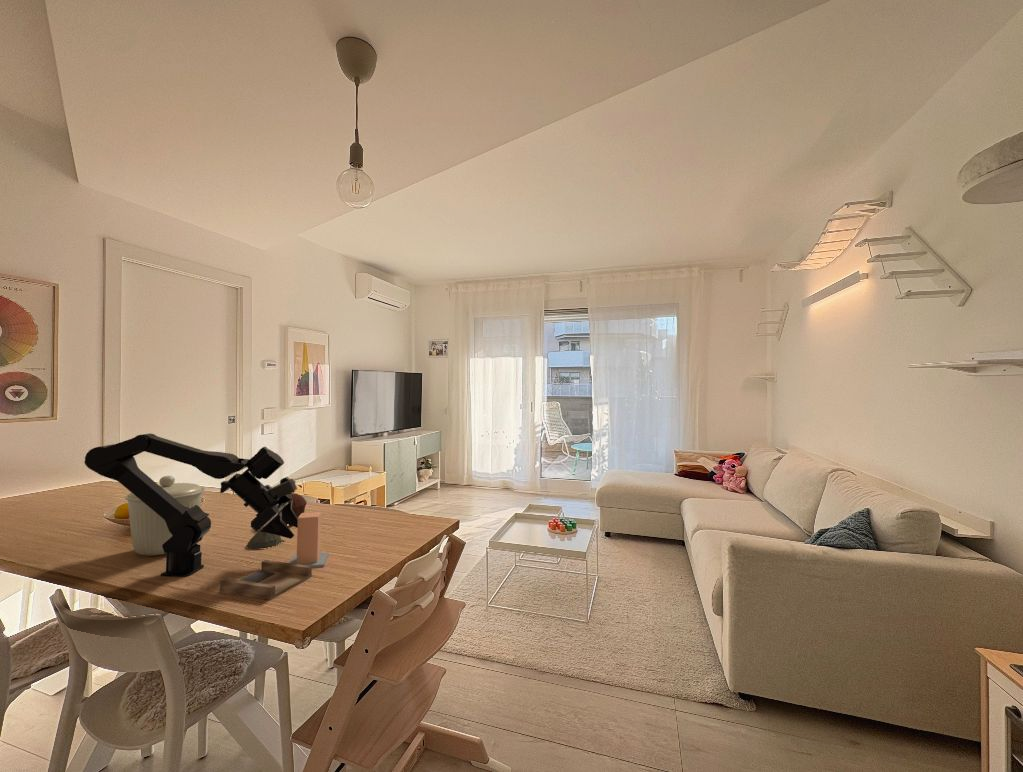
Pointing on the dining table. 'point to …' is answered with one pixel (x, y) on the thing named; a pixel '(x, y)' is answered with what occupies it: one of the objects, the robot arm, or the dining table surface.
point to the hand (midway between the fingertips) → (296, 531)
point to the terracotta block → (308, 537)
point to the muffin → (298, 504)
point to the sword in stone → (263, 540)
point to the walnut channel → (268, 580)
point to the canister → (149, 525)
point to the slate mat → (319, 563)
